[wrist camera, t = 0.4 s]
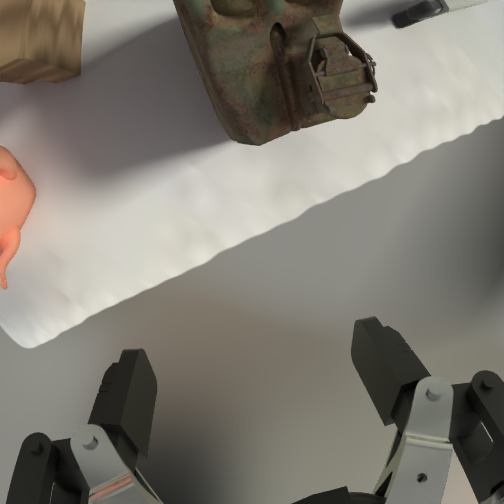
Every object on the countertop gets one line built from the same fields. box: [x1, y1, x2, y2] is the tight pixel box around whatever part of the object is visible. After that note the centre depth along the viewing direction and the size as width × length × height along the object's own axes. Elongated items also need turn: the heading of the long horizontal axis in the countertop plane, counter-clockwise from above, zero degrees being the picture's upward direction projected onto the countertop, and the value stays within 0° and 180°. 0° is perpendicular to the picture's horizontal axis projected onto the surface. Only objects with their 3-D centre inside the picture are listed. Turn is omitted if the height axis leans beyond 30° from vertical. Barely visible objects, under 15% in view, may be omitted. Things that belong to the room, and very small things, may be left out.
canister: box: [173, 0, 378, 146], centre depth 19 cm, size 19×8×25 cm, turn 20°
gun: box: [393, 0, 488, 28], centre depth 24 cm, size 2×25×10 cm, turn 125°
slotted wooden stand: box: [0, 0, 85, 84], centre depth 18 cm, size 13×10×15 cm
